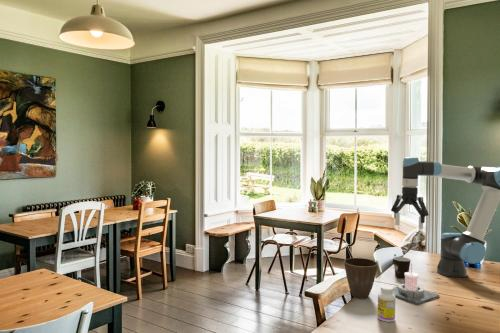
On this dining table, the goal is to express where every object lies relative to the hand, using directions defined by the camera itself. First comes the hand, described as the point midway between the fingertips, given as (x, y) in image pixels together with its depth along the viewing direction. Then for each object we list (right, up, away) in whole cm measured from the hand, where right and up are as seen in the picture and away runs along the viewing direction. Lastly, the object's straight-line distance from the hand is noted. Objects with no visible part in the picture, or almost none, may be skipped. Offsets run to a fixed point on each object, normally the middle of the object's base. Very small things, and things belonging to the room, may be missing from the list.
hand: (408, 227), depth 204 cm
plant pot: (-32, -29, -22) cm, 49 cm away
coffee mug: (0, -29, +9) cm, 30 cm away
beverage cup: (-7, -28, -20) cm, 35 cm away
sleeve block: (-7, -29, -20) cm, 36 cm away
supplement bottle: (-29, -30, -48) cm, 63 cm away
